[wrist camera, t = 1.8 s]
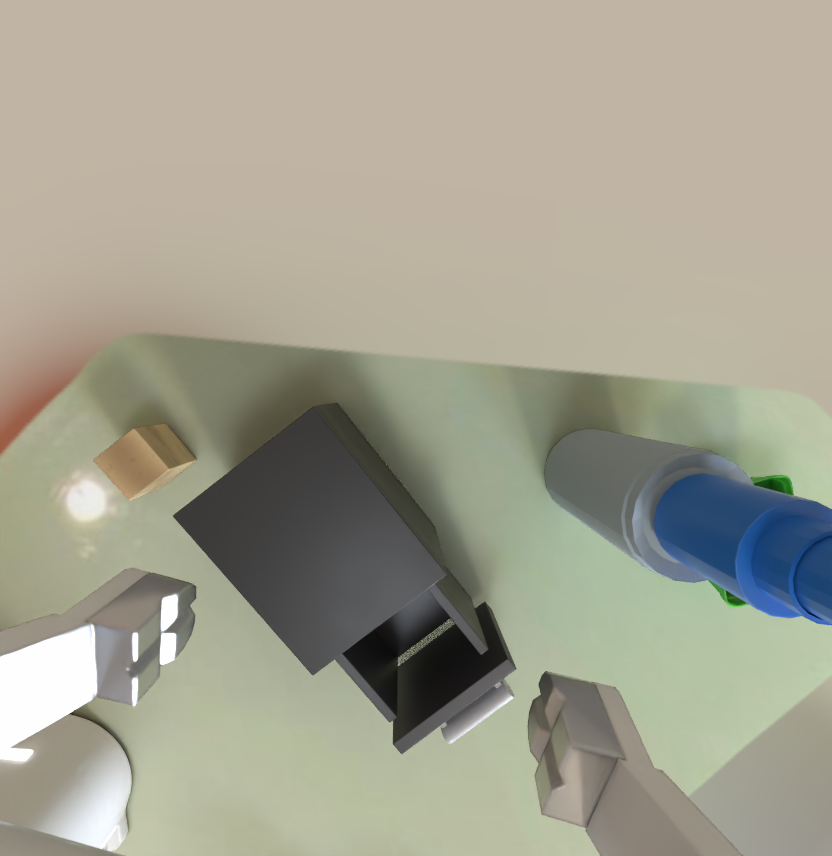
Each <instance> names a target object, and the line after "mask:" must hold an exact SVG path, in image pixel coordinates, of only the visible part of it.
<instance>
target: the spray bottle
mask: <svg viewBox="0 0 832 856" xmlns="http://www.w3.org/2000/svg"><path fill="white" fill-rule="evenodd" d="M544 475H545V482H546V487H547V489H548V491H549V493H550V495H551V497H552V499H553V500H554V501H555V502H556V503H557V504H558V505H559V506H560V507H561V508H563V509H564V510H566V511H567V512H568V513H570V514H571V515H572V516H574V517H575V518H577V519H578V520H579V521H581V522H582V523H584V524H585V525H586V526H588V527H589V528H591V529H592V530H593V531H595V532H596V533H598V534H599V535H600V536H602V537H603V538H604V539H606V540H607V541H609V542H610V543H611V544H613V545H614V546H616V547H617V548H618V549H620V550H621V551H623V552H624V553H625V554H627V555H628V556H630V557H631V558H632V559H634V560H635V561H637V562H638V563H639V564H641V565H642V566H643V567H645V568H646V569H648V570H650V571H653V572H655V573H657V574H659V575H661V576H663V577H668V578H670V579H672V580H675V581H683V582H692V583H695V582H700V581H705V580H710V581H712V582H713V583H715V584H716V585H718V586H720V587H721V588H723V589H725V590H726V591H728V592H730V593H731V594H733V595H735V596H736V597H738V598H739V599H741V600H743V601H744V602H746V603H748V604H749V605H751V606H753V607H754V608H756V609H758V610H760V611H762V612H764V613H766V614H768V615H771V616H775V617H784V618H794V617H799V616H803V617H805V618H807V619H809V620H811V621H813V622H815V623H818V624H825V625H832V509H830V508H828V507H826V506H824V505H822V504H820V503H818V502H816V501H812V500H808V499H804V498H800V497H797V496H793V495H789V494H785V493H782V492H778V491H774V490H770V489H766V488H763V487H759V486H755V485H754V484H753V482H752V479H751V478H750V477H749V476H748V475H747V474H746V473H745V472H744V471H743V470H742V469H741V468H740V467H739V466H738V465H737V464H735V463H733V462H731V461H729V460H727V459H725V458H723V457H721V456H720V455H718V454H716V453H714V452H712V451H708V450H703V449H698V448H693V447H687V446H682V445H677V444H672V443H666V442H661V441H656V440H651V439H645V438H640V437H635V436H630V435H624V434H619V433H614V432H609V431H603V430H597V429H590V428H588V429H583V430H577V431H574V432H572V433H570V434H568V435H566V436H565V437H563V438H562V439H561V440H560V441H559V442H558V443H557V444H556V445H555V446H554V447H553V448H552V450H551V452H550V454H549V456H548V458H547V460H546V466H545V472H544Z"/></svg>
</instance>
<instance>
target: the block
mask: <svg viewBox="0 0 832 856" xmlns="http://www.w3.org/2000/svg"><path fill="white" fill-rule="evenodd" d="M93 461H94V462H95V463H96V464H97V465H98V466H99V468H100V469H101V470H102V471H103V472H104V473H105V474H106V475H107V477H108V478H109V479H110V480H111V481H112V482H113V483H114V484H115V486H116V487H117V488H118V489H119V490H120V491H121V492H122V493H123V495H124V496H125V497H126V498H127V499H128V500H132V499H135V498H137V497H140V496H142V495H144V494H147V493H149V492H152V491H154V490H157V489H159V488H162V487H163V486H164V485H165V484H167V483H168V482H169V481H171V480H172V479H173V478H174V477H176V476H177V475H178V474H180V473H181V472H182V471H183V470H185V469H186V468H187V467H189V466H190V465H191V464H192V463H194V462H195V461H196V459H195V457H194V456H193V455H192V454H191V453H190V451H189V450H188V449H187V448H186V447H185V446H184V444H183V443H182V442H181V441H180V440H179V439H178V437H177V436H176V435H175V434H174V433H173V432H172V430H171V429H170V428H169V427H168V426H167V425H166V424H160V425H153V426H145V427H138V428H133V429H132V430H131V431H129V432H128V433H127V434H126V435H124V436H123V437H122V438H120V439H119V440H118V441H117V442H115V443H114V444H113V445H112V446H110V447H109V448H108V449H106V450H105V451H104V452H103V453H101V454H100V455H99V456H98V457H96V458H95V459H94V460H93Z"/></svg>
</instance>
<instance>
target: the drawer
mask: <svg viewBox="0 0 832 856" xmlns="http://www.w3.org/2000/svg"><path fill="white" fill-rule="evenodd" d="M445 568H446V572H447V575H446V576H444V577H443V578H442V579H440V580H439V581H438V582H436V583H435V584H434V585H432V586H431V587H430V588H428V589H427V590H426V591H424V592H423V593H422V594H420V595H419V596H418V597H416V598H415V599H414V600H412V601H411V602H410V603H408V604H407V605H406V606H404V607H403V608H402V609H401V610H399V611H398V612H397V613H395V614H394V615H393V616H391V617H390V618H389V619H387V620H386V621H385V622H383V623H382V624H381V625H379V626H378V627H377V628H375V629H374V630H373V631H371V632H370V633H369V634H367V635H366V636H365V637H363V638H362V639H361V640H359V641H358V642H357V643H355V644H354V645H353V646H351V647H350V648H349V649H347V650H346V651H345V652H343V653H342V654H341V655H339V656H338V657H337V658H335V660H336V661H337V662H338V663H339V665H340V666H341V667H342V668H343V669H344V670H345V672H346V673H347V674H348V675H349V676H350V677H351V678H352V680H353V681H354V682H355V683H356V684H357V685H358V687H359V688H360V689H361V690H362V691H363V692H364V693H365V695H366V696H367V697H368V698H369V699H370V700H371V702H372V703H373V704H374V705H375V706H376V707H377V709H378V710H379V711H380V712H381V713H382V714H383V715H384V717H385V718H386V719H387V720H388V721H389V722H391V721H393V745H394V746H395V747H396V748H397V749H398V751H399V752H400V753H401V754H403V753H404V752H405V751H407V750H408V749H410V748H411V747H412V746H414V745H415V744H416V743H418V742H419V741H420V740H422V739H423V738H424V737H426V736H427V735H428V734H430V733H431V732H432V731H434V730H435V729H436V728H438V727H439V726H441V731H442V734H443V736H444V738H445V740H446V741H447V742H448V743H449V744H451V743H453V742H454V741H455V740H457V739H458V738H460V737H461V736H462V735H464V734H465V733H466V732H468V731H469V730H470V729H472V728H473V727H474V726H476V725H477V724H478V723H480V722H481V721H483V720H484V719H485V718H487V717H488V716H489V715H491V714H492V713H493V712H495V711H496V710H497V709H499V708H500V707H501V706H503V705H504V704H506V703H507V702H508V701H510V700H511V699H512V698H514V694H513V692H512V690H511V688H510V686H509V685H508V683H507V682H506V681H505V680H504V678H505V677H507V676H508V675H509V674H511V673H512V672H513V671H515V670H516V667H515V664H514V662H513V660H512V657H511V655H510V652H509V650H508V648H507V645H506V643H505V640H504V638H503V636H502V633H501V631H500V628H499V626H498V624H497V621H496V619H495V617H494V614H493V612H492V610H491V608H490V607H489V606H488V605H487V603H486V602H484V603H482V604H481V605H480V606H478V607H477V608H476V609H475V608H474V605H473V602H472V599H471V597H470V596H469V594H468V593H467V592H466V591H465V589H464V588H463V587H462V586H461V584H460V583H459V582H458V581H457V579H456V578H455V577H454V576H453V574H452V573H451V572H450V571H449V569H448V568H447V567H446V566H445ZM450 618H451V619H452V620H453V621H454V622H455V624H454V625H453V626H452V627H450V628H449V629H448V630H446V631H445V632H444V633H442V634H441V635H440V636H438V637H437V638H436V639H434V640H433V641H432V642H430V643H429V644H428V645H426V646H425V647H424V648H422V649H421V650H420V651H418V652H417V653H416V654H414V655H413V656H412V657H410V658H409V659H408V660H406V661H405V662H404V663H402V664H401V665H400V666H398V657H399V656H400V655H402V654H403V653H404V652H406V651H407V650H408V649H410V648H411V647H412V646H414V645H415V644H416V643H418V642H419V641H420V640H422V639H423V638H424V637H426V636H427V635H428V634H430V633H431V632H432V631H434V630H435V629H436V628H438V627H439V626H440V625H442V624H443V623H444V622H446V621H447V620H448V619H450Z"/></svg>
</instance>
